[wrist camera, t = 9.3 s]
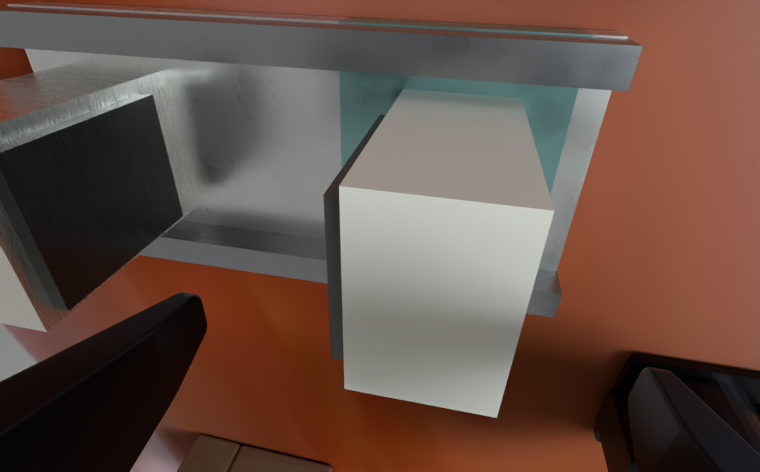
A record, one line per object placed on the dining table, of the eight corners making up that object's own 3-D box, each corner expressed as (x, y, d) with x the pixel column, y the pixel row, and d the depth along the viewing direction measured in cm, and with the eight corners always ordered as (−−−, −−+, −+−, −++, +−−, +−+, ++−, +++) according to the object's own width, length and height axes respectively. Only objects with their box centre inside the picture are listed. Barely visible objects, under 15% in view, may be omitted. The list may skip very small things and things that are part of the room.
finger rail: (615, 30, 14) (783, 110, 6) (545, 273, 19) (586, 483, 12) (41, 1, 18) (-322, 29, 10) (115, 215, 23) (-79, 345, 15)
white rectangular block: (491, 247, 18) (496, 418, 11) (383, 233, 18) (326, 385, 12) (521, 97, 14) (554, 210, 8) (388, 87, 15) (314, 183, 8)
